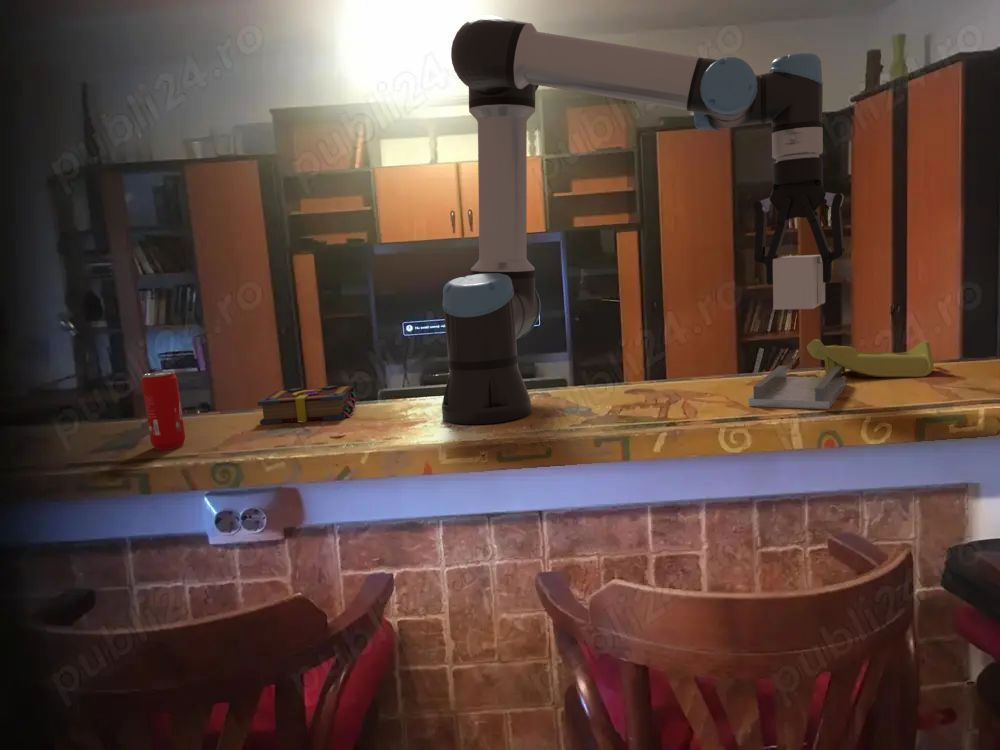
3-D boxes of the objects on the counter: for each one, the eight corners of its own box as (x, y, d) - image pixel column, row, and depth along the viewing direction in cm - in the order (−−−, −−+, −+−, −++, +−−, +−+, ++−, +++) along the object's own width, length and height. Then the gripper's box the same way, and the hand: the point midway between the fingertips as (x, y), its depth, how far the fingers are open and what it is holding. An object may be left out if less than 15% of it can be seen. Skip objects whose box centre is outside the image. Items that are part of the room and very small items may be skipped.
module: (773, 309, 126) (772, 259, 125) (785, 303, 134) (785, 256, 133) (813, 308, 123) (813, 257, 122) (823, 302, 131) (823, 254, 130)
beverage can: (155, 444, 129) (144, 373, 127) (188, 440, 131) (178, 369, 129) (149, 452, 124) (137, 377, 122) (183, 448, 126) (173, 374, 124)
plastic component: (908, 353, 150) (931, 336, 140) (912, 391, 148) (935, 376, 138) (801, 352, 152) (816, 335, 142) (803, 389, 150) (819, 374, 140)
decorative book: (278, 413, 150) (275, 387, 149) (362, 407, 150) (359, 381, 149) (260, 426, 139) (256, 399, 138) (351, 420, 139) (348, 392, 138)
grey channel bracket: (748, 406, 126) (748, 386, 125) (775, 382, 143) (774, 365, 142) (829, 409, 120) (829, 388, 119) (846, 384, 137) (846, 366, 136)
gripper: (730, 164, 127) (734, 307, 130) (860, 149, 117) (860, 304, 121) (742, 166, 133) (745, 303, 137) (865, 152, 123) (865, 300, 127)
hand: (799, 303), depth 129 cm, fingers closed on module, 6 cm apart
